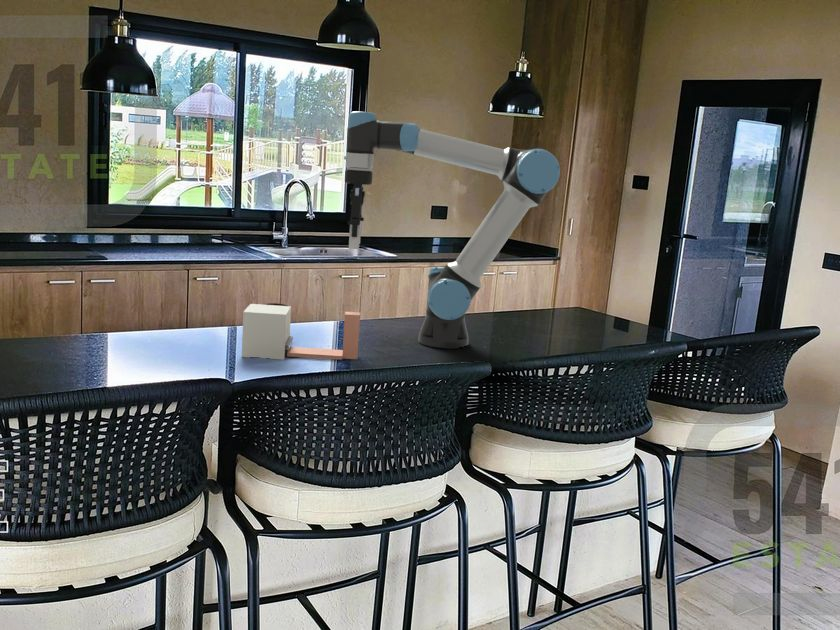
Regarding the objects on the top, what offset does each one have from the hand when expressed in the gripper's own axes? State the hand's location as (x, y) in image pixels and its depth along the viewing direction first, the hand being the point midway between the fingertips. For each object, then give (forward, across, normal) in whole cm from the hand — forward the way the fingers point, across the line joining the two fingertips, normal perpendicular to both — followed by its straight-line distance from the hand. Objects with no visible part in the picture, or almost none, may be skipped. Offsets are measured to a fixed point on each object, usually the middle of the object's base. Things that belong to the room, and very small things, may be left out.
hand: (354, 246), depth 236 cm
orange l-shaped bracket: (+29, +14, -6) cm, 33 cm away
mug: (+29, -4, -21) cm, 36 cm away
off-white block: (+29, +14, -22) cm, 38 cm away
